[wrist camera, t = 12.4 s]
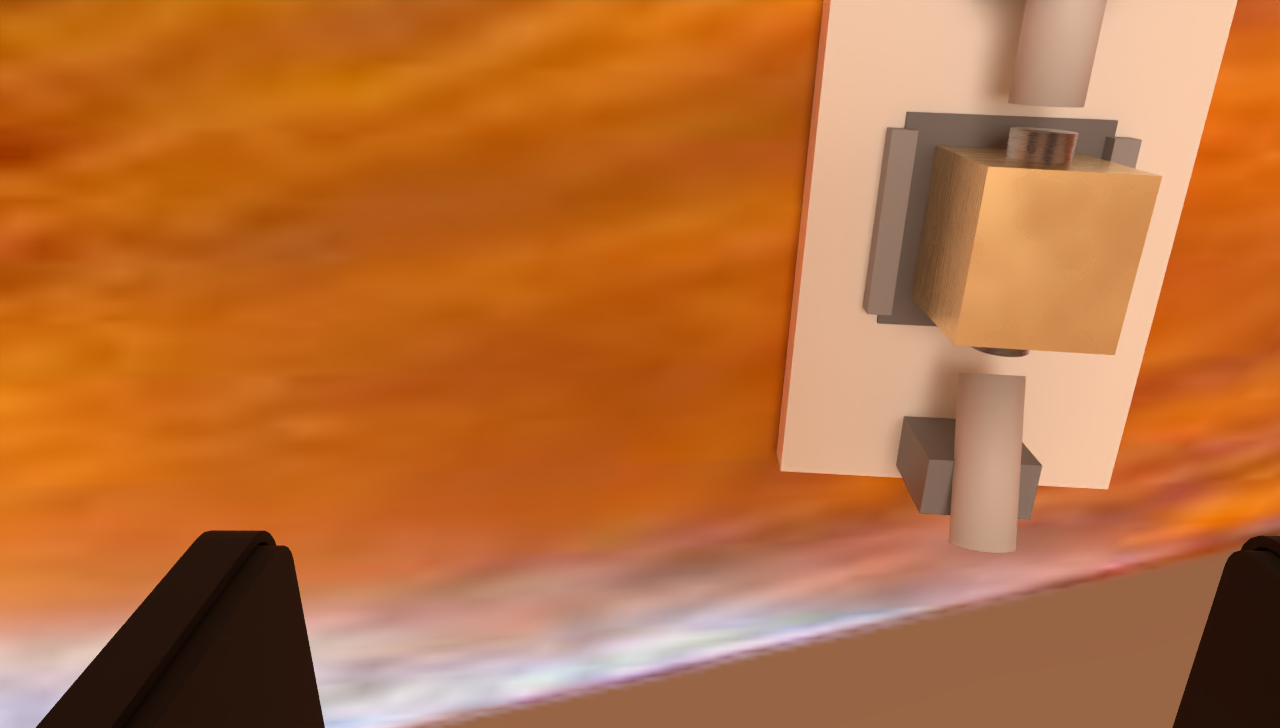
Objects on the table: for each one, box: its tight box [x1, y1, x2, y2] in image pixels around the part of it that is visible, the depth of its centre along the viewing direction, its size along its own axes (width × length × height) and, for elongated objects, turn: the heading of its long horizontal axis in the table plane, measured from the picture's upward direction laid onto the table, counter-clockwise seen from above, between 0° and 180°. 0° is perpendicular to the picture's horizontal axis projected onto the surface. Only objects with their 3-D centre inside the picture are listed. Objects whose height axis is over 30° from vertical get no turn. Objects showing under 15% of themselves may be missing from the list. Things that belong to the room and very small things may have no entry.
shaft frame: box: [777, 0, 1237, 553], centre depth 26 cm, size 19×12×7 cm, turn 178°
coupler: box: [910, 127, 1162, 357], centre depth 25 cm, size 7×4×5 cm
